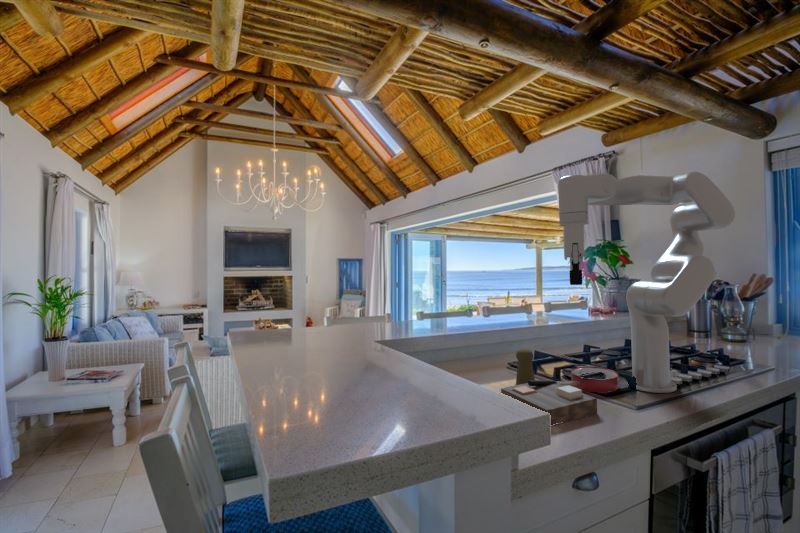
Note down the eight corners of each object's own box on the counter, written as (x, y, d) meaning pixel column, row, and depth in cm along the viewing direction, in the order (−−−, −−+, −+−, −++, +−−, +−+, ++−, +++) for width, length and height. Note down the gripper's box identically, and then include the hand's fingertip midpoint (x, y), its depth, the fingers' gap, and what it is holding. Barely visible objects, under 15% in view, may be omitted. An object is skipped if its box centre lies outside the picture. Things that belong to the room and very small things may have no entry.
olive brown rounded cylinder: (537, 387, 121) (535, 352, 121) (516, 387, 123) (515, 352, 122) (534, 381, 127) (533, 347, 127) (515, 381, 129) (513, 347, 128)
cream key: (569, 395, 106) (569, 385, 106) (582, 400, 102) (581, 389, 102) (557, 398, 104) (557, 387, 104) (569, 403, 100) (569, 392, 100)
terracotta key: (525, 396, 110) (525, 385, 110) (536, 400, 106) (535, 390, 106) (513, 398, 109) (513, 388, 109) (523, 403, 105) (523, 392, 105)
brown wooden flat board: (546, 392, 117) (545, 379, 117) (597, 413, 100) (596, 398, 100) (501, 402, 111) (500, 388, 111) (548, 426, 94) (547, 410, 94)
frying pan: (557, 413, 102) (556, 388, 102) (519, 399, 113) (518, 377, 113) (628, 387, 118) (627, 366, 118) (588, 377, 129) (587, 358, 129)
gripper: (559, 222, 120) (562, 282, 120) (559, 219, 106) (561, 287, 106) (587, 220, 117) (589, 282, 117) (589, 216, 103) (592, 286, 103)
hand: (576, 284), depth 112 cm, fingers closed
